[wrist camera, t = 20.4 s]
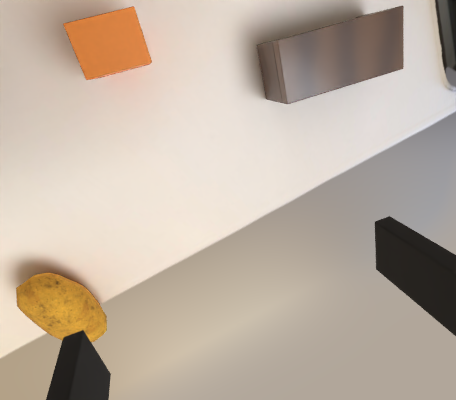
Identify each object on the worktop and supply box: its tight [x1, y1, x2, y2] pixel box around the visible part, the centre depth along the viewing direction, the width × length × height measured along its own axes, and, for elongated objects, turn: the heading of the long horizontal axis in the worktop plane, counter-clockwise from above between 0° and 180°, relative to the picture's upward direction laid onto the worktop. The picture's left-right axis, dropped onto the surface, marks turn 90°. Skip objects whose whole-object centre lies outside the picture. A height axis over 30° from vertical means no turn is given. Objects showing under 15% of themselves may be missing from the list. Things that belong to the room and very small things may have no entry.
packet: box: [63, 7, 152, 80], centre depth 32 cm, size 6×4×11 cm
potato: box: [16, 272, 107, 342], centre depth 44 cm, size 8×14×7 cm, turn 27°
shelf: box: [257, 6, 403, 104], centre depth 40 cm, size 16×7×7 cm, turn 104°
